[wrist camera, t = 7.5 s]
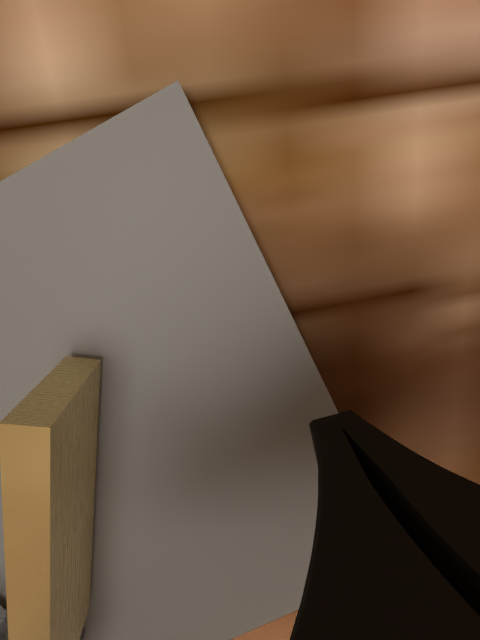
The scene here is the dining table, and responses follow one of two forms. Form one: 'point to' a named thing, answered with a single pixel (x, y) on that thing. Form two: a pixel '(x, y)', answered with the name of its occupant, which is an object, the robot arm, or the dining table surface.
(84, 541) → the swing leaf
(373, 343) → the dining table surface
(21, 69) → the dining table surface
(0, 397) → the board
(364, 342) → the dining table surface
